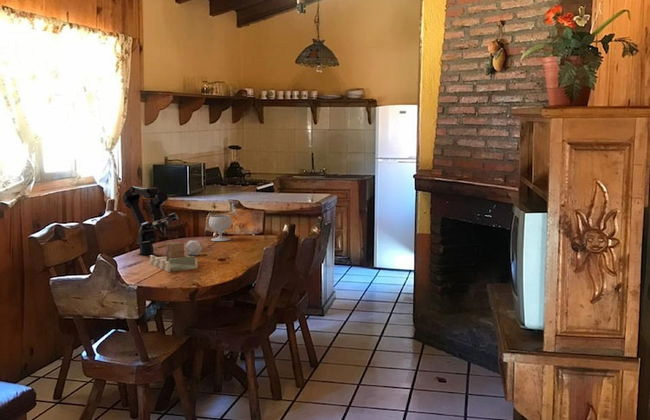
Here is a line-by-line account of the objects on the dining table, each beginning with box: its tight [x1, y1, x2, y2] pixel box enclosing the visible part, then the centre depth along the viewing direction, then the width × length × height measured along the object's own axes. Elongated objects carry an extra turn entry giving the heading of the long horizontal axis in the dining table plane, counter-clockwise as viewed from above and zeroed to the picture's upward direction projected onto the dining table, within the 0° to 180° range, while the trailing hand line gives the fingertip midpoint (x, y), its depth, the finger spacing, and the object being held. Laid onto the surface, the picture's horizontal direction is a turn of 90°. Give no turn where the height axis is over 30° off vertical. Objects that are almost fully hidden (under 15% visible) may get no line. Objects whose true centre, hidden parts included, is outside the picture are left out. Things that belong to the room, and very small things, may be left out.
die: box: [184, 240, 203, 257], centre depth 364 cm, size 8×9×10 cm
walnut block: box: [165, 241, 185, 262], centre depth 332 cm, size 6×7×9 cm
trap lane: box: [149, 253, 198, 273], centre depth 335 cm, size 24×15×6 cm, turn 35°
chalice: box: [208, 214, 233, 242], centre depth 411 cm, size 14×14×15 cm
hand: (164, 236), depth 350 cm, fingers closed
